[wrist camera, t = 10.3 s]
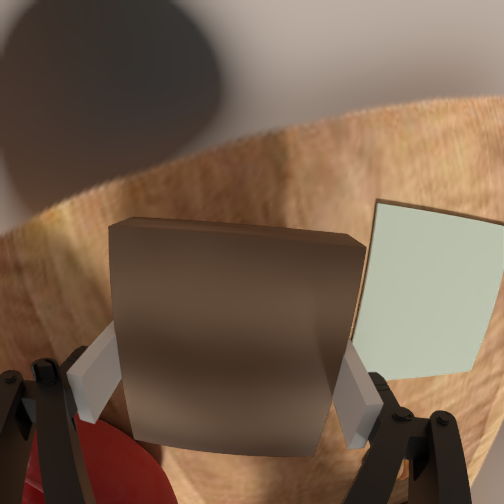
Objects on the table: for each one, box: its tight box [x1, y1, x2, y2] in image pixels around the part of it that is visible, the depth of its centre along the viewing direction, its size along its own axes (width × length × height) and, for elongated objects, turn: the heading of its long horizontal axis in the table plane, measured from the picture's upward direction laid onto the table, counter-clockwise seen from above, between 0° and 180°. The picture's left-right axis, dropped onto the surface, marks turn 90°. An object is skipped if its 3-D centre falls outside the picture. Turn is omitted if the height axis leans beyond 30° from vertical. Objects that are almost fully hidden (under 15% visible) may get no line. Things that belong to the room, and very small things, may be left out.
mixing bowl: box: [22, 412, 178, 504], centre depth 22 cm, size 28×28×16 cm
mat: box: [352, 203, 504, 380], centre depth 24 cm, size 16×16×1 cm
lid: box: [108, 217, 366, 457], centre depth 15 cm, size 13×11×3 cm
